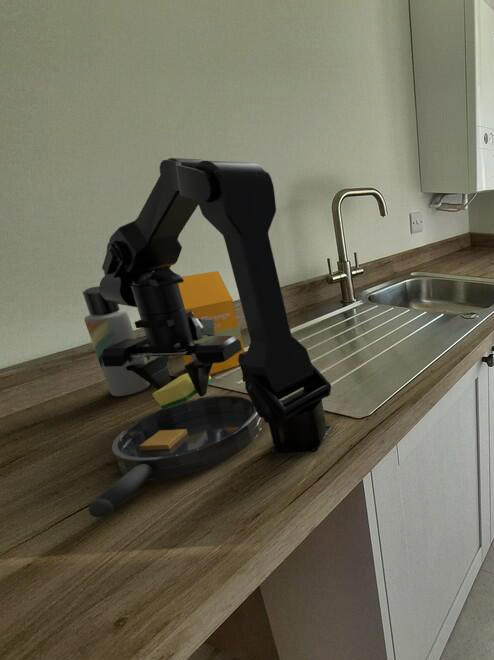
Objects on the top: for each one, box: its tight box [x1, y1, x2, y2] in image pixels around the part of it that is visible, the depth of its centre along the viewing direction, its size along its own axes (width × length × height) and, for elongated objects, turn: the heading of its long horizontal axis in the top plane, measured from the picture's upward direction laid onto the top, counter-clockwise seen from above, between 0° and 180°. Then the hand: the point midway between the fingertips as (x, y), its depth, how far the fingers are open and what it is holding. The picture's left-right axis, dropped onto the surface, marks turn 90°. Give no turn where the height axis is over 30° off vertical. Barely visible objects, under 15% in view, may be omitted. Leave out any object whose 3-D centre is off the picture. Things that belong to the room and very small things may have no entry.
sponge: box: [151, 372, 214, 410], centre depth 70 cm, size 7×4×3 cm, turn 4°
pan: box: [111, 394, 263, 481], centre depth 61 cm, size 17×17×4 cm
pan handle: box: [88, 464, 153, 518], centre depth 49 cm, size 2×8×2 cm, turn 4°
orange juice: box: [178, 270, 246, 376], centre depth 85 cm, size 8×9×20 cm
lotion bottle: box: [82, 285, 151, 397], centre depth 75 cm, size 6×6×20 cm
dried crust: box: [139, 429, 188, 450], centre depth 61 cm, size 4×4×1 cm
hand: (187, 396), depth 71 cm, fingers closed on sponge, 5 cm apart
